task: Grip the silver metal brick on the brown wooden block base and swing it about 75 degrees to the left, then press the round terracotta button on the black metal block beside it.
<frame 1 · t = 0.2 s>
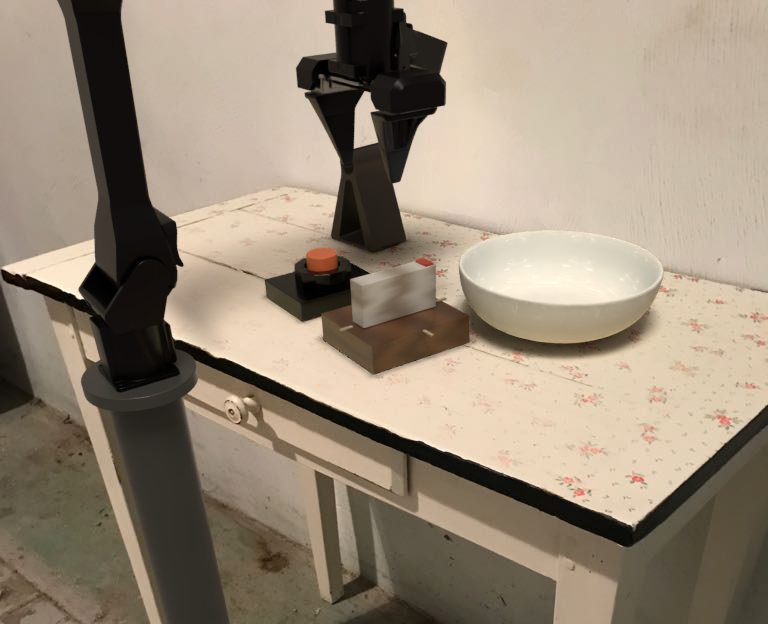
hand: (370, 173, 85), 15 cm above the table, tool pointing down, fingers open, 9 cm apart
phone stand: (368, 241, 113), on the table
serving bowl: (553, 325, 89), on the table
silver metal brick: (394, 292, 84), point 5 cm above the table, hinge at 0.0°
brown wooden block base: (395, 341, 87), on the table
button block: (325, 297, 97), on the table
button: (322, 260, 95), point 4 cm above the table, slide at 0.1 cm
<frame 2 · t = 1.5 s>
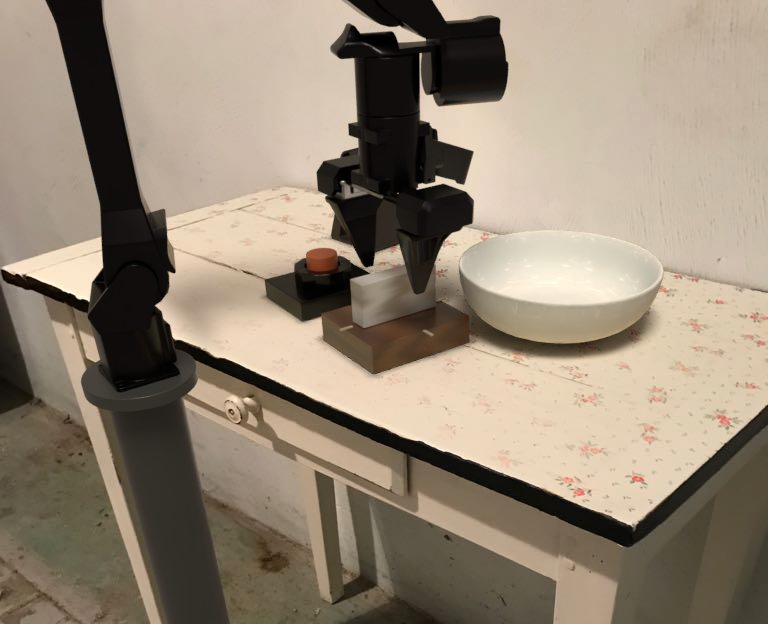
hand: (393, 279, 83), 7 cm above the table, tool pointing down, fingers open, 9 cm apart
nothing on the table moved.
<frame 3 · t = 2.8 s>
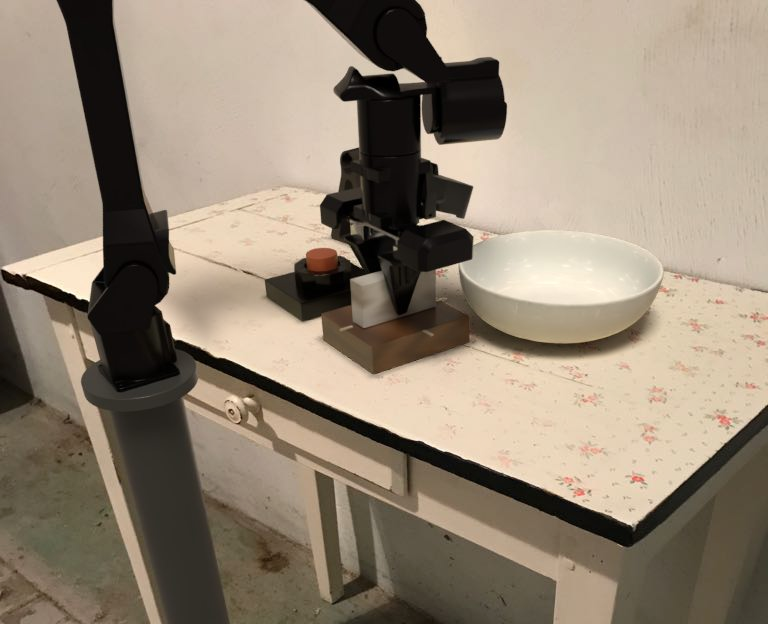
hand: (394, 309, 85), 4 cm above the table, tool pointing down, fingers closed on silver metal brick, 2 cm apart
silver metal brick: (394, 292, 84), point 5 cm above the table, hinge at 0.0°, touching gripper
everything else where it was.
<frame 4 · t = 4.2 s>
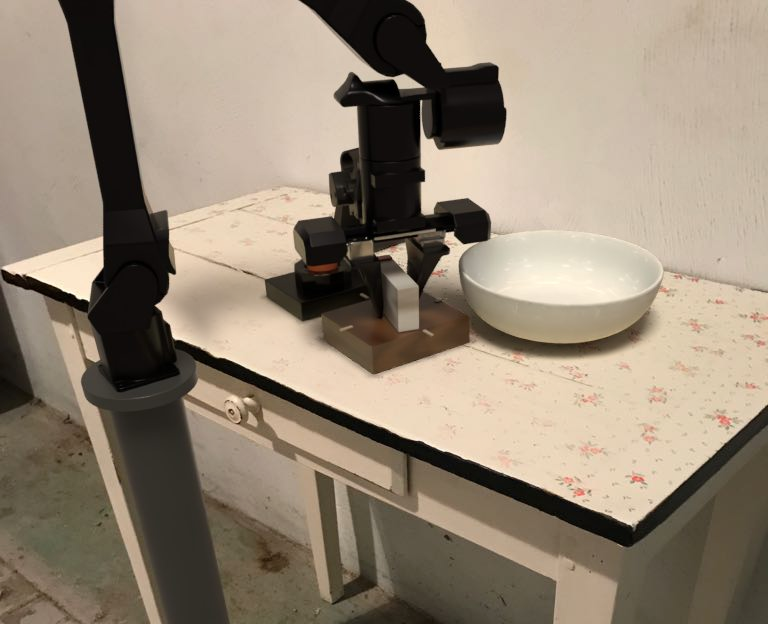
hand: (394, 313, 85), 3 cm above the table, tool pointing down, fingers open, 3 cm apart
silver metal brick: (394, 292, 84), point 5 cm above the table, hinge at 74.3°
everything else where it was.
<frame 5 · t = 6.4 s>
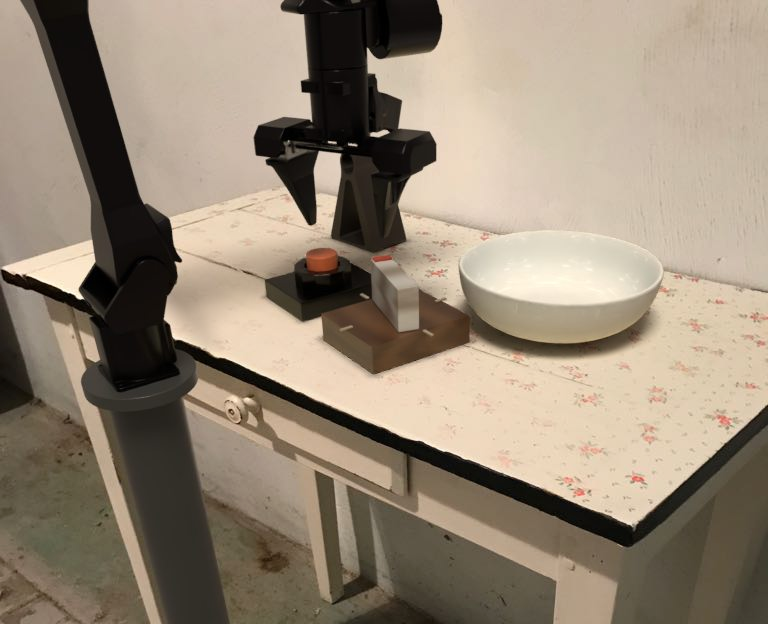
hand: (347, 230, 87), 10 cm above the table, tool pointing down, fingers open, 9 cm apart
nothing on the table moved.
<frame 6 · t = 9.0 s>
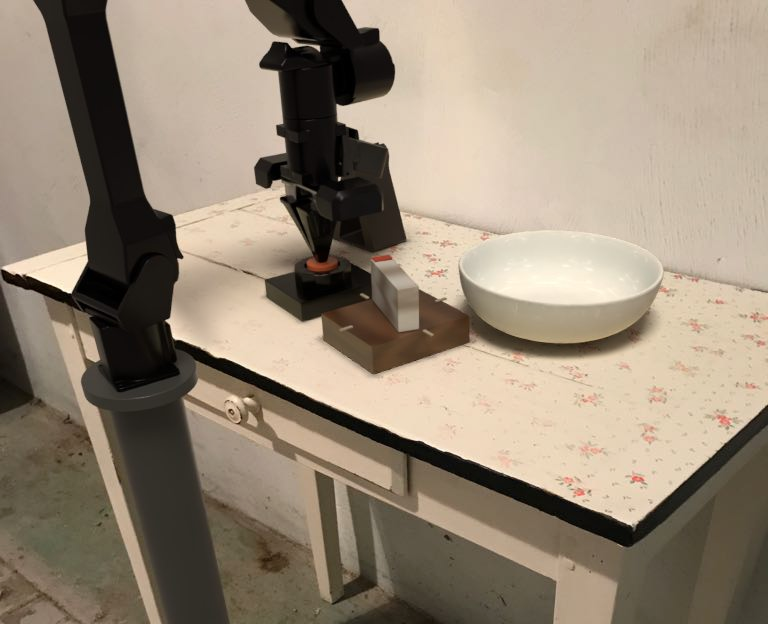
hand: (321, 261, 95), 4 cm above the table, tool pointing down, fingers closed, pressing on button
button: (322, 268, 95), point 3 cm above the table, slide at -0.9 cm, touching gripper
everything else where it was.
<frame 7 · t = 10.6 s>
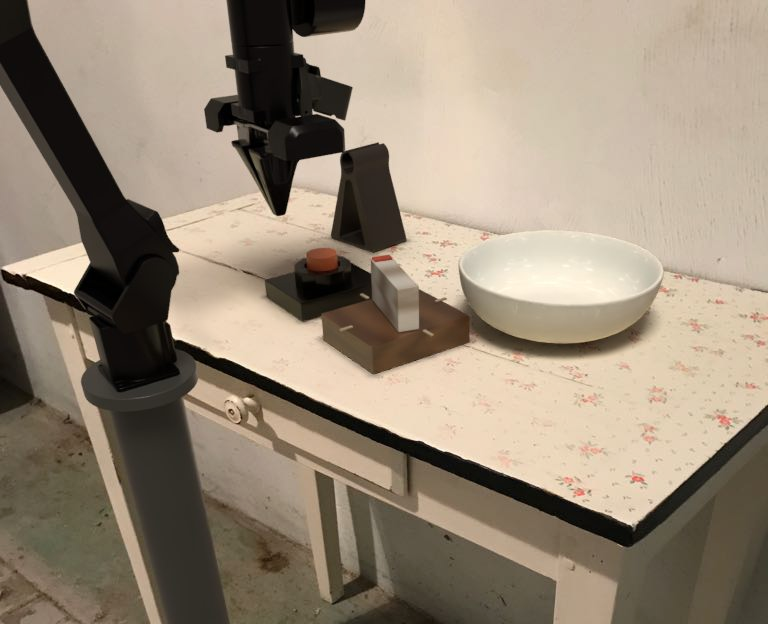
hand: (279, 214, 85), 12 cm above the table, tool pointing down, fingers closed
button: (322, 260, 95), point 4 cm above the table, slide at 0.1 cm
everything else where it was.
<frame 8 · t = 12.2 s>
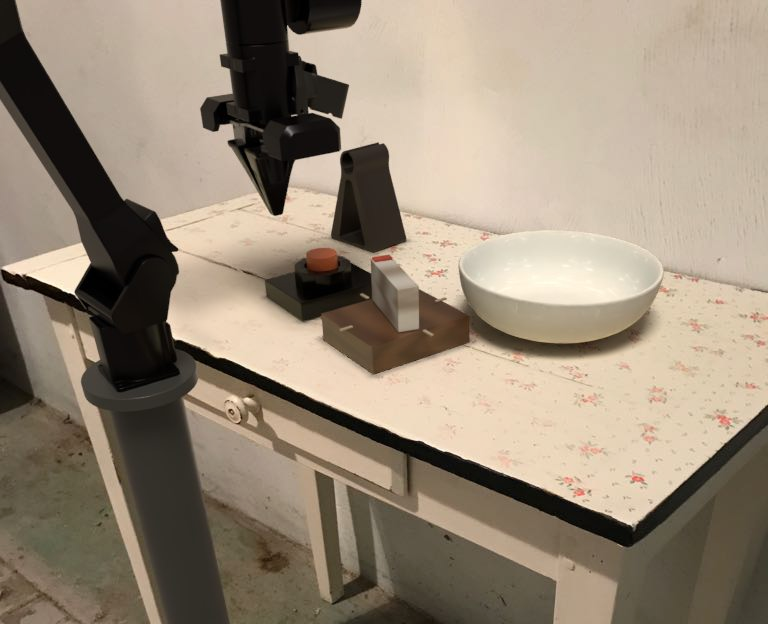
hand: (276, 214, 84), 12 cm above the table, tool pointing down, fingers closed
nothing on the table moved.
at the end: silver metal brick at +74° (first picture: +0°); button pushed in 1.1 cm at the most during the clip, back to where it started at the end; button slide at 0.1 cm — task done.
